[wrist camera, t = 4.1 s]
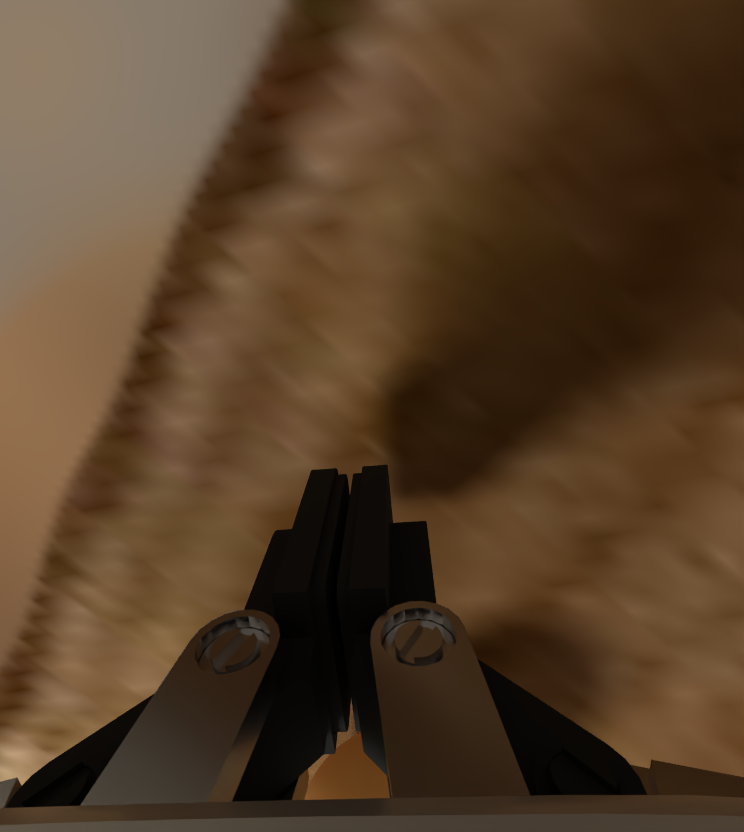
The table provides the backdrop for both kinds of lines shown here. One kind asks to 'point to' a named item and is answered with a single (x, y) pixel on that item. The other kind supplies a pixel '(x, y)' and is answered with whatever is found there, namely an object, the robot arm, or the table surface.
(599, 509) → the table surface
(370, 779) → the ball
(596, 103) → the table surface
